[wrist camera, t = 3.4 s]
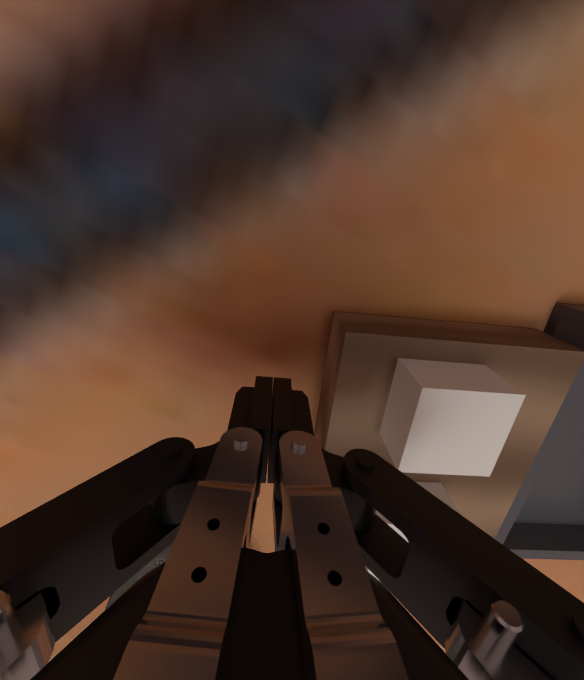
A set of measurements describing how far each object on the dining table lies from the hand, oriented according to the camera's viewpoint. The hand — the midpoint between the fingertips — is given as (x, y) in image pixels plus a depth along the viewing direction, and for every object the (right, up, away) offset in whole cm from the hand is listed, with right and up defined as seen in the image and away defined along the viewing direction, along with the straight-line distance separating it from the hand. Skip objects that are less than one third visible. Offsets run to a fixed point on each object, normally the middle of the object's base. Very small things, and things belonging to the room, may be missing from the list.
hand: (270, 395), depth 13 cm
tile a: (+7, 0, +1) cm, 7 cm away
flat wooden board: (+8, -3, +5) cm, 10 cm away
